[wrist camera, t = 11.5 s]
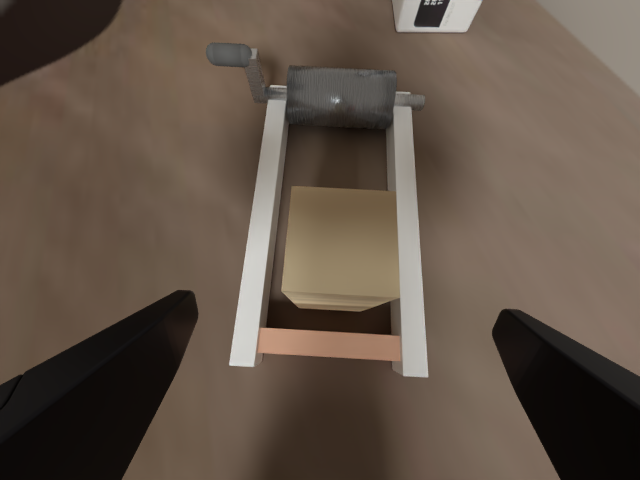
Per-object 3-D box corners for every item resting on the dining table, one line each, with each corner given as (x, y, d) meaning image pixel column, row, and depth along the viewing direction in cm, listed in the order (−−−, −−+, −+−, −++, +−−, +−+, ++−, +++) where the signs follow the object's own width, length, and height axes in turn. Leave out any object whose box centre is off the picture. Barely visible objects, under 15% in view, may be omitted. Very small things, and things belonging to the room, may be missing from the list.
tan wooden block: (360, 311, 20) (400, 297, 10) (299, 308, 20) (281, 291, 10) (360, 252, 21) (396, 191, 11) (303, 249, 21) (291, 185, 11)
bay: (428, 371, 18) (484, 394, 12) (183, 356, 18) (115, 372, 12) (411, 104, 26) (441, 33, 19) (234, 95, 26) (208, 22, 19)
